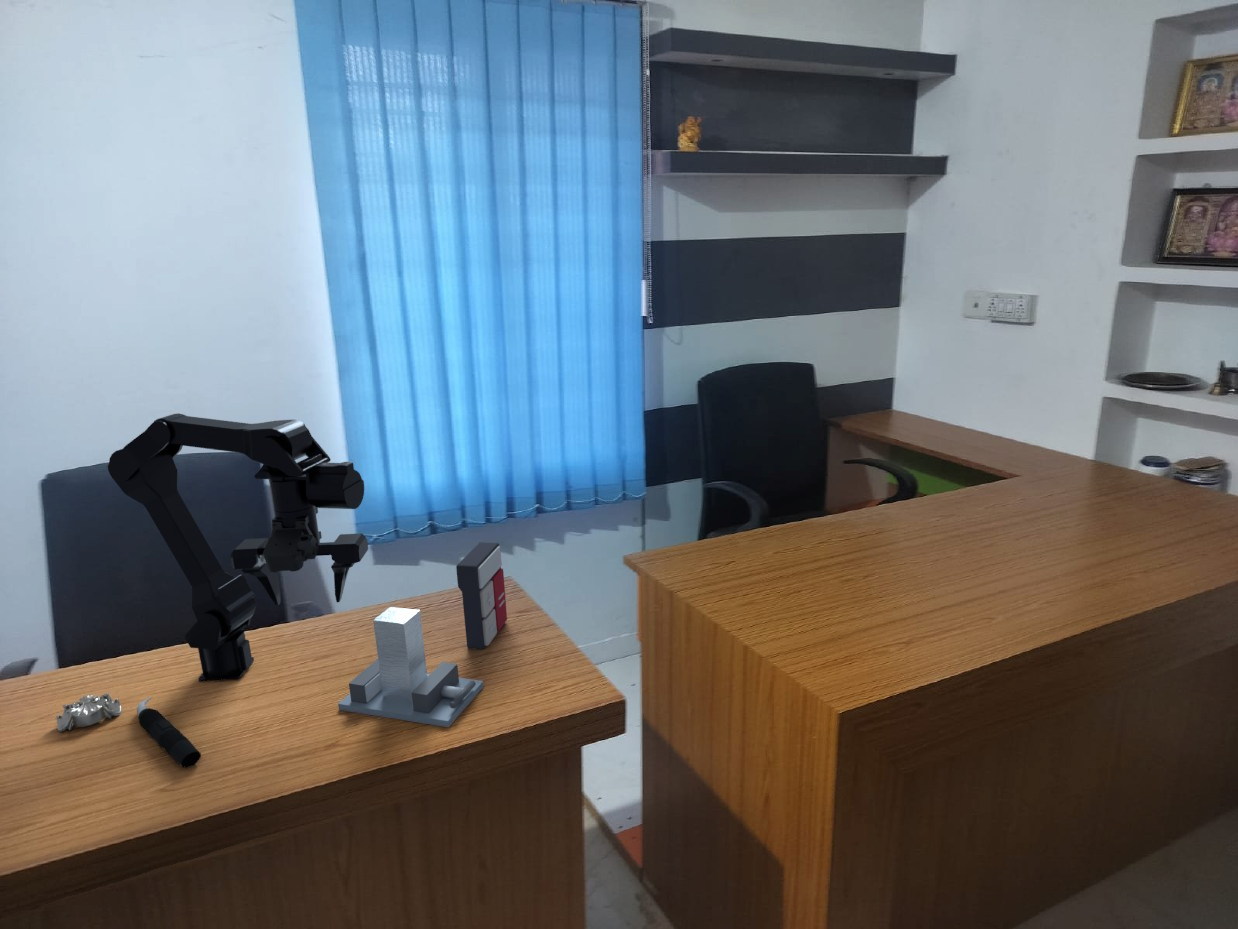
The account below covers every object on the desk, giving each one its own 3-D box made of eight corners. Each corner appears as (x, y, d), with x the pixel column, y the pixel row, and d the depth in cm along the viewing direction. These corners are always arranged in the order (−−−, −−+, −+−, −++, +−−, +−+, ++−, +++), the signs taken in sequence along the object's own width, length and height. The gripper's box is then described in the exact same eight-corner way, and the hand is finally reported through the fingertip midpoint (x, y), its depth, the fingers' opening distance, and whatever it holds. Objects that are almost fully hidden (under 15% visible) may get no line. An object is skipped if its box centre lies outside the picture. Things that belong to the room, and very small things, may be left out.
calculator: (488, 651, 137) (480, 566, 133) (463, 649, 138) (455, 565, 134) (509, 621, 147) (503, 542, 143) (486, 619, 148) (479, 541, 144)
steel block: (412, 701, 121) (403, 623, 117) (382, 697, 122) (373, 620, 119) (428, 685, 125) (420, 610, 121) (399, 681, 126) (390, 606, 123)
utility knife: (125, 716, 122) (122, 698, 121) (154, 705, 125) (151, 687, 124) (183, 776, 108) (179, 756, 107) (214, 761, 110) (210, 742, 110)
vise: (338, 709, 121) (335, 685, 120) (381, 672, 131) (378, 649, 130) (449, 727, 116) (446, 702, 115) (484, 687, 126) (482, 663, 125)
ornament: (120, 701, 126) (115, 680, 125) (123, 722, 120) (118, 699, 120) (58, 719, 122) (53, 697, 121) (58, 741, 116) (52, 718, 115)
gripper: (206, 528, 114) (225, 630, 118) (342, 521, 115) (356, 623, 119) (238, 502, 125) (254, 597, 129) (362, 496, 126) (374, 591, 130)
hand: (308, 603), depth 126 cm, fingers open, 9 cm apart
